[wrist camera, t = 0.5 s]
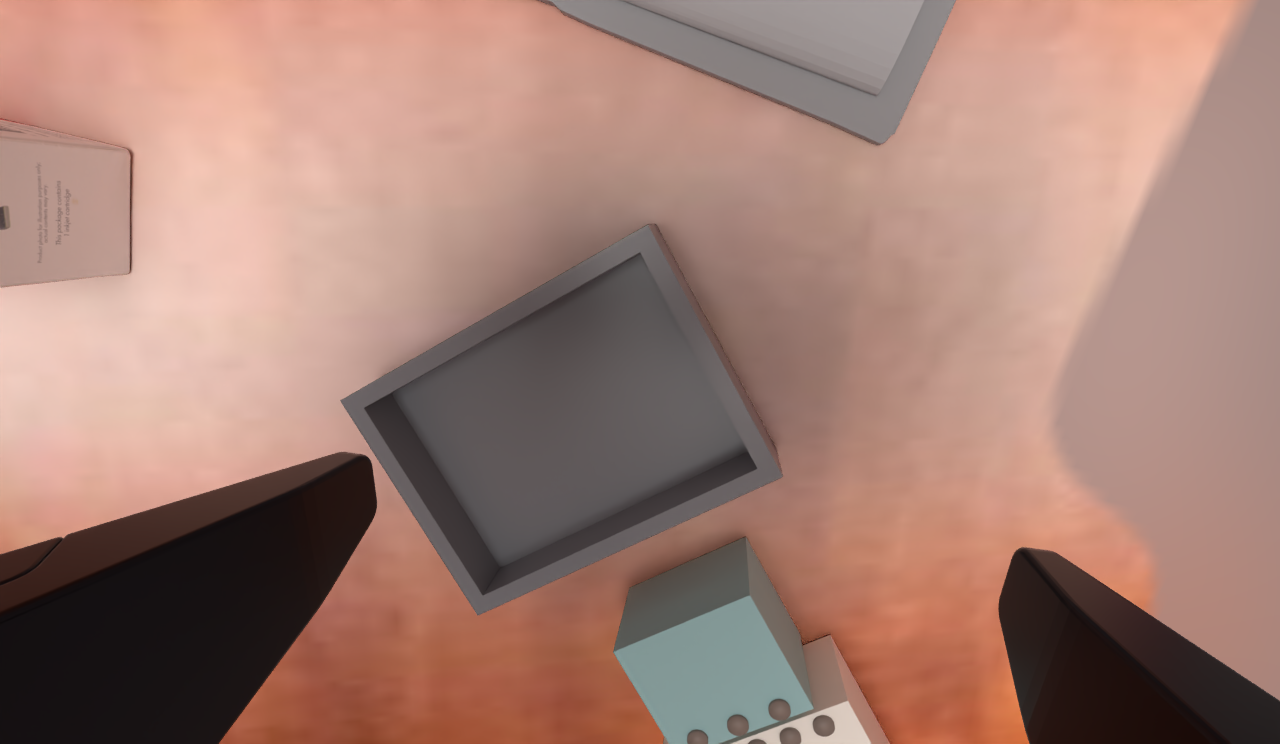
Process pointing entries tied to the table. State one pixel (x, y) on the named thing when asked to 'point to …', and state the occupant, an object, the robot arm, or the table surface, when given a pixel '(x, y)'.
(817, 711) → the pad
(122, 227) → the ink cartridge box
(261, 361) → the table surface
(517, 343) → the tray
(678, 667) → the stub
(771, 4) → the office telephone
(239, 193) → the table surface
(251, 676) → the robot arm
